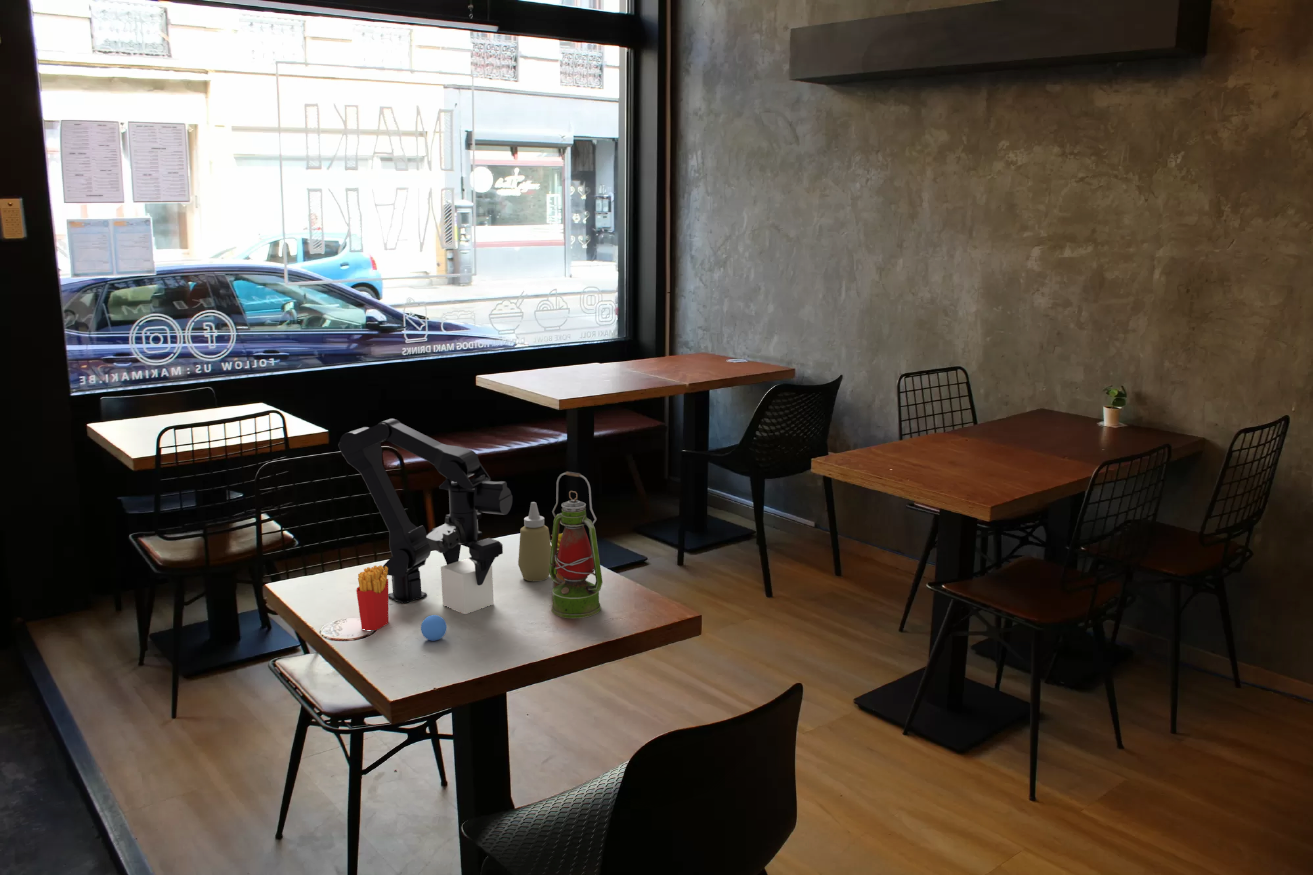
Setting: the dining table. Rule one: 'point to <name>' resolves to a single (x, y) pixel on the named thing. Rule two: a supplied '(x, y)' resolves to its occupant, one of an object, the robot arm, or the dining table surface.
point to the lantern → (574, 560)
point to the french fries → (373, 597)
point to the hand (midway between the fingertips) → (466, 579)
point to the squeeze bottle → (534, 547)
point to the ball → (433, 627)
